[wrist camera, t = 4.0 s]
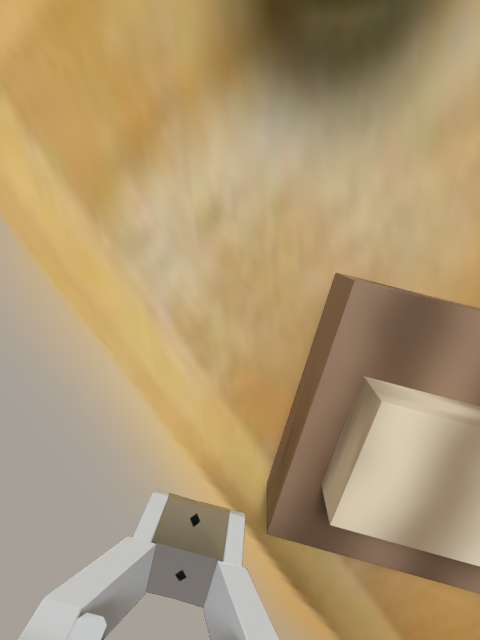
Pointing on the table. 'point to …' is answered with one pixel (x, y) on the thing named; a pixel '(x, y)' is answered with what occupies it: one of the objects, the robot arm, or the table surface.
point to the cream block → (408, 471)
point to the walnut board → (338, 396)
